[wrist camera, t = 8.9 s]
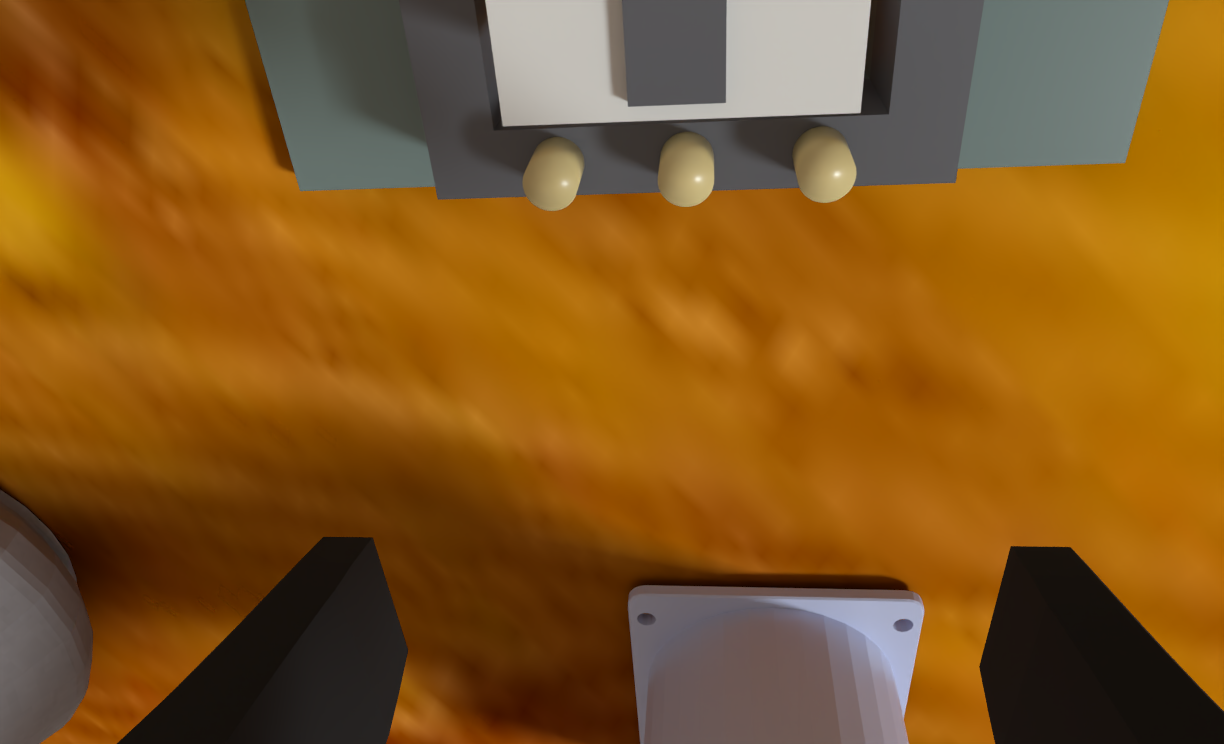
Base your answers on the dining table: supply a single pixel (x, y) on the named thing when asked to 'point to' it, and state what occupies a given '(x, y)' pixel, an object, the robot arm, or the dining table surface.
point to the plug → (676, 59)
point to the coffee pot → (38, 630)
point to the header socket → (705, 148)
